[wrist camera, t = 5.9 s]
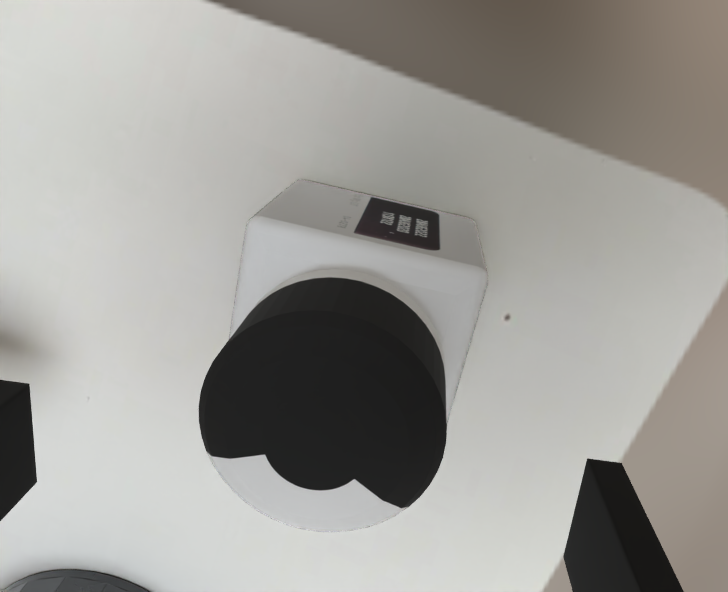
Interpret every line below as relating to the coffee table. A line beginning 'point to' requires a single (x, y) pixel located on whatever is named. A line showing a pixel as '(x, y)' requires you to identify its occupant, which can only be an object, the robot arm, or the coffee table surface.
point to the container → (342, 356)
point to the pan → (72, 583)
